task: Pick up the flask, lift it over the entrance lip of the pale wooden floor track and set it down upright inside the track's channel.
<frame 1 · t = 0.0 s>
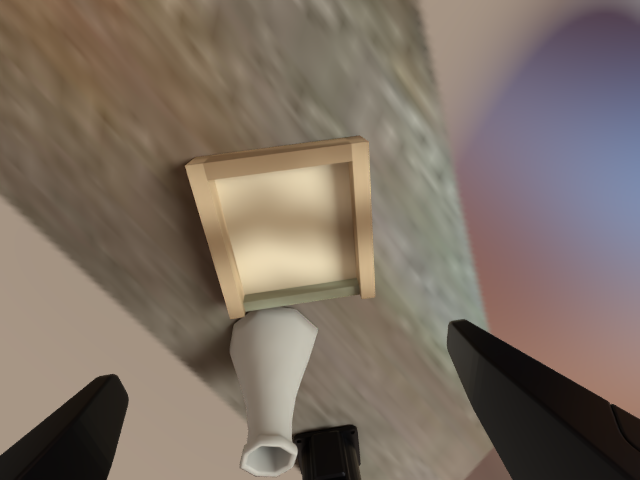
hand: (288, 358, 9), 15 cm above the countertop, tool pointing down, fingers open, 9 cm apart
track: (291, 225, 23), on the countertop
flask: (273, 336, 27), on the countertop
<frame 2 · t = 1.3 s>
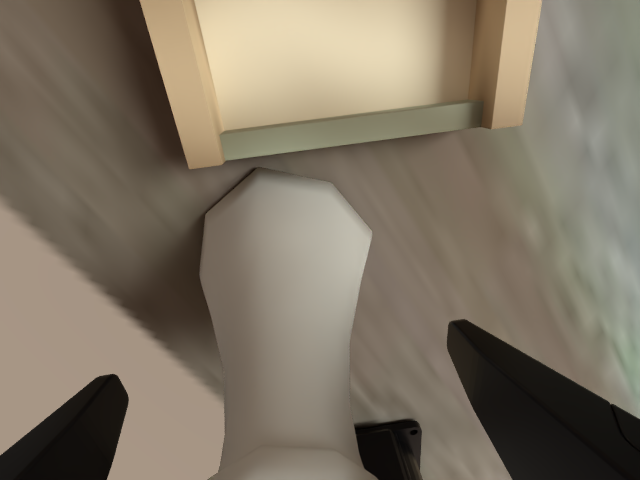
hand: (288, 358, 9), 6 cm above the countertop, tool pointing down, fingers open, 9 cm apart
flask: (285, 248, 14), on the countertop
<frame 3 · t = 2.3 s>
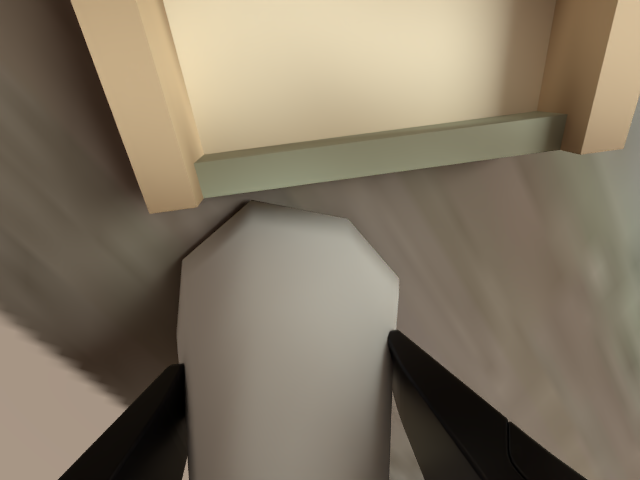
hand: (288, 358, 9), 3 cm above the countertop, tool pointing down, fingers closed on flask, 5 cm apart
flask: (287, 297, 11), on the countertop, touching gripper
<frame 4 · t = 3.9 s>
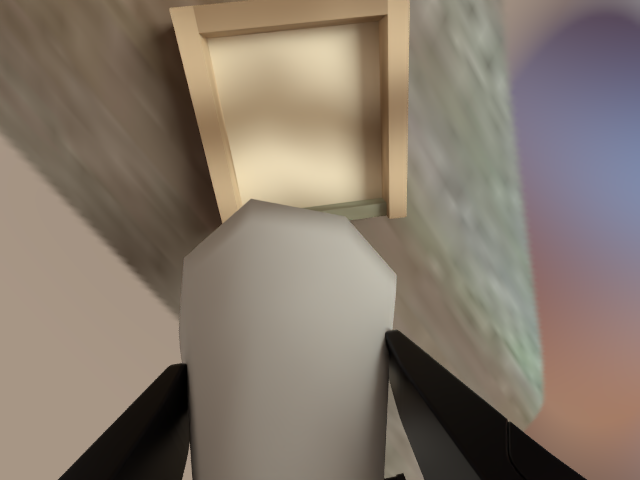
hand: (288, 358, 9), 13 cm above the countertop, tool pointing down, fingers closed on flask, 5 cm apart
track: (303, 124, 19), on the countertop
flask: (287, 294, 11), point 10 cm above the countertop, touching gripper
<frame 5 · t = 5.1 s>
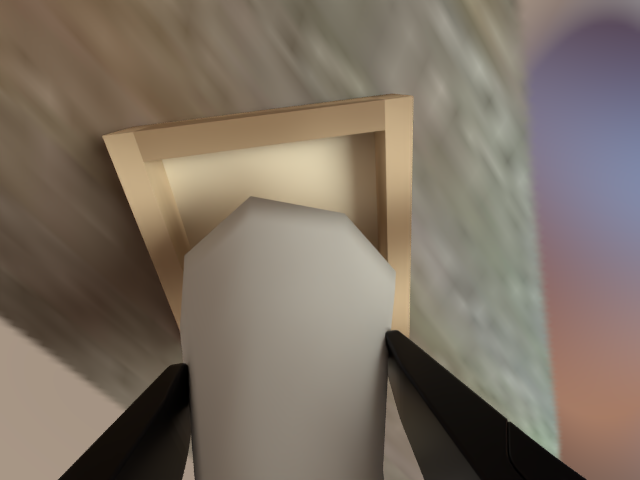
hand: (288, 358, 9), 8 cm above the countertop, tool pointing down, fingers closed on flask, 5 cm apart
track: (286, 232, 15), on the countertop
flask: (287, 291, 12), point 5 cm above the countertop, touching gripper
when the fingers open (5 cm above the countertop, at t = 6.0 s): flask drops 1 cm, resting on track.
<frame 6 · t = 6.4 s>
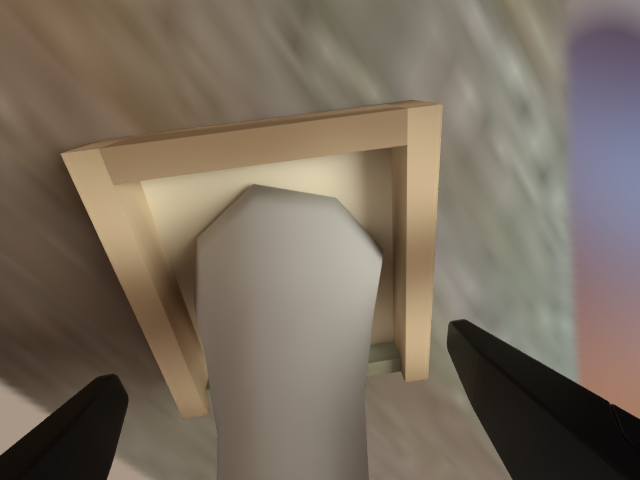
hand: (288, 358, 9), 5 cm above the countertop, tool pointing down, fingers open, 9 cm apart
track: (286, 259, 13), on the countertop
flask: (287, 269, 13), point 1 cm above the countertop, touching track
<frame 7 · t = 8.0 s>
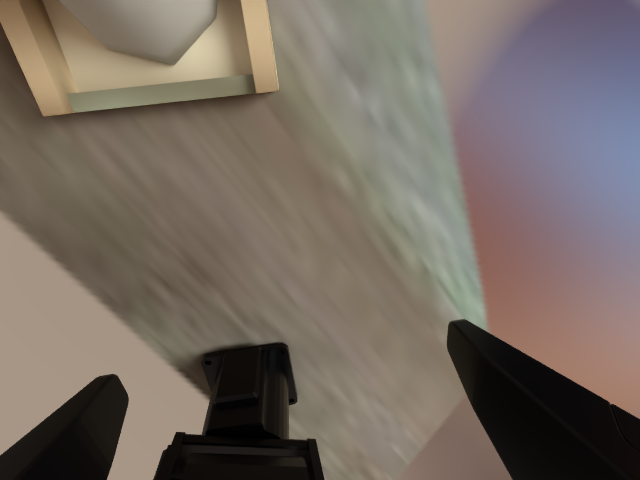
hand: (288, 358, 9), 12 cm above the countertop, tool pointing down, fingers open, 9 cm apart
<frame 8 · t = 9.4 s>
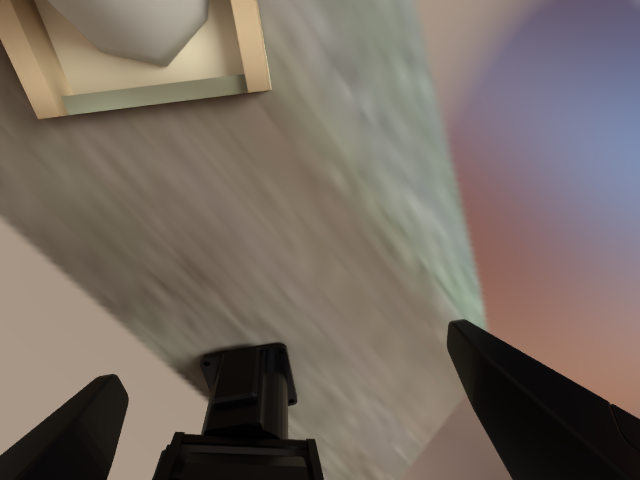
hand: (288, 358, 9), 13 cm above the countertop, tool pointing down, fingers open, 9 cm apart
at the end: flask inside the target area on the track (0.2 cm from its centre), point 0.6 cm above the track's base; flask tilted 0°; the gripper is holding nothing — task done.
